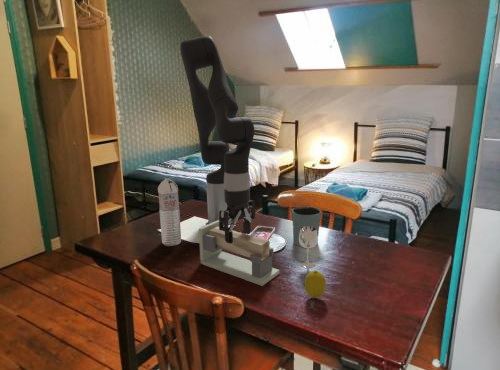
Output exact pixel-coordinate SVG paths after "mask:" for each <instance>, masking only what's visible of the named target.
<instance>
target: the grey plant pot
mask: <svg viewBox="0 0 500 370" xmlns="http://www.w3.org/2000/svg"><path fill="white" fill-rule="evenodd" d="M321 216H322V210H321V209H319V208H318V207H315V206H309V205H307V206H306V205H305V206H297V207H293V208H292V209H291V218H292V220H291V221H292V232H293V233H292V235H293V238H292V240H293V244H294V245H295V246H297V247H301V248H303V247H302V246H301V245H300V243H299V234H300V230H301V228H302V227H304V226H311V227H315V228H316V231H317V236H318V237H319V231H320V222H321ZM318 243H319V242H317V244H318Z"/></svg>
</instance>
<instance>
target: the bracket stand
mask: <svg viewBox="0 0 500 370" xmlns="http://www.w3.org/2000/svg"><path fill="white" fill-rule="evenodd" d="M217 226H218V227H219V220H217V221H215V222H212V223H210V224H209V223H208V224H206V225H204V226H201V227H199V228H198V239H199V259H200V265H204V266H205V267H208V268H211V269H215V270H217V271H220V272H222V273H225V274H229V275H230V276H234V277H237V278H240V279H243V280H245V281H247V282H250V283H252V284H255V285H259V286H261V287H264V286H265V285H266V284H267V283H268V282H270V281H272V279H274V278H275V277H277V276H278V275H279V274H280V269H277V268H274V267H273V256H274V253H275V251H274V250H275V249H274V248H273V247H270V246H269V257H268V258H266V259H264V260H263V261H260V256H257V255H253V254H251V255H250V258H249V259H247V258H245V257H244V258H243V257H241V256H238V255H236V254H231V253H228V252H226V251H223V249H221V248H218V247H215V236H212V235H209V230H211V229H213V228H215V227H217Z"/></svg>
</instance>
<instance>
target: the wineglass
mask: <svg viewBox="0 0 500 370" xmlns="http://www.w3.org/2000/svg"><path fill="white" fill-rule="evenodd" d="M318 237H319V235H318V236H317V231H316V228H315V227H311V226H304V227H302V228H301V230H300V234H299V243H300V245H301V246H302V247H301V248H303V249H306V250H305V251H306V260H305V261H302V262H300V266H301V267H303V268H305V269H309V268H310V269H312V268H314V267H315V266H316V265H315V263H314V262H313V261H309V254H310V252H311V251H310V249H314V248H315V247H316V246H317V245H318V243H319V242H318V241H319V238H318ZM317 242H318V243H317Z"/></svg>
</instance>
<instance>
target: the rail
mask: <svg viewBox="0 0 500 370" xmlns="http://www.w3.org/2000/svg"><path fill="white" fill-rule="evenodd" d="M232 232H233V243H231V244H230V243H227V242H226V241H225V231H221V230H219V227H218V226H217V227H215V228H213V229H211V230H209V235H212V236H215V247H218V248H221V249H222V250H224V251H228V252H231V253H233V254H237V255H240V256H242V257H243V256H244V257H246V258H249V259H250V255H251V254H253V255H257V256H260V261H263V260H264V259H266V258H268V257H269V247H270V240H269V239H268V240H266V239H265V238H262V237H257V236H254V235H252V236H251V235H250V234H245V233H244V232H243V233H242V232H239V231H236V230H232Z"/></svg>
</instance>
